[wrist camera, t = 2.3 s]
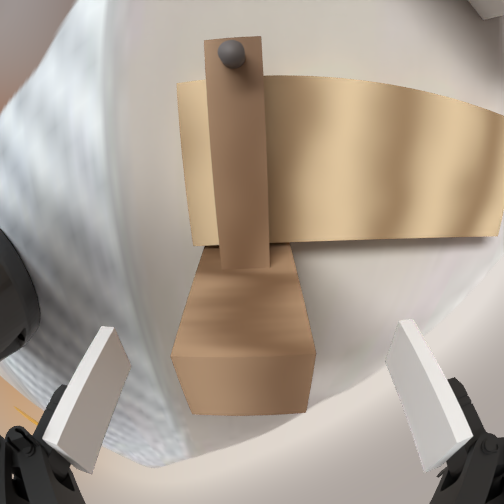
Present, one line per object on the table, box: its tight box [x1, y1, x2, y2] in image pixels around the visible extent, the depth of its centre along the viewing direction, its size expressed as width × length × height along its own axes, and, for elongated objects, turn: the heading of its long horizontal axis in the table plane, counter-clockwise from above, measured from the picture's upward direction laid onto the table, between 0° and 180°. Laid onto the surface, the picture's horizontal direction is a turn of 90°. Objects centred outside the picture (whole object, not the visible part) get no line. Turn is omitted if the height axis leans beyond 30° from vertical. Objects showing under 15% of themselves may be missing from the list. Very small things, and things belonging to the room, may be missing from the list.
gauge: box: [171, 36, 316, 416], centre depth 12 cm, size 5×15×10 cm, turn 3°
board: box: [177, 76, 504, 246], centre depth 15 cm, size 22×9×2 cm, turn 93°
